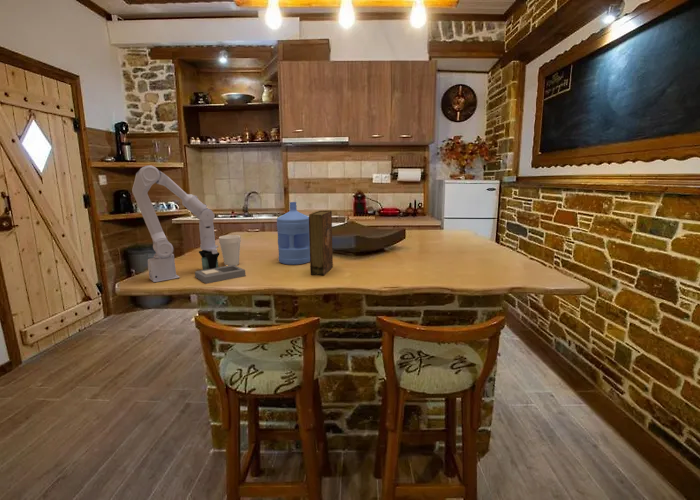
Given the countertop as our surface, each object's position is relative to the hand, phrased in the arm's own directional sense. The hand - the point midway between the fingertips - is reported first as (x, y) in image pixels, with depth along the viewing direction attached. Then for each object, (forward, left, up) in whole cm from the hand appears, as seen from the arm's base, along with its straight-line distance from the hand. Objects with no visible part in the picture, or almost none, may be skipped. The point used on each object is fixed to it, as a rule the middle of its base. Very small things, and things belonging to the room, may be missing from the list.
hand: (210, 267), depth 154 cm
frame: (0, -11, -2) cm, 11 cm away
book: (+36, -32, -2) cm, 48 cm away
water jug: (+37, -9, -2) cm, 38 cm away
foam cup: (+12, +6, -2) cm, 14 cm away
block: (0, 0, -2) cm, 2 cm away
